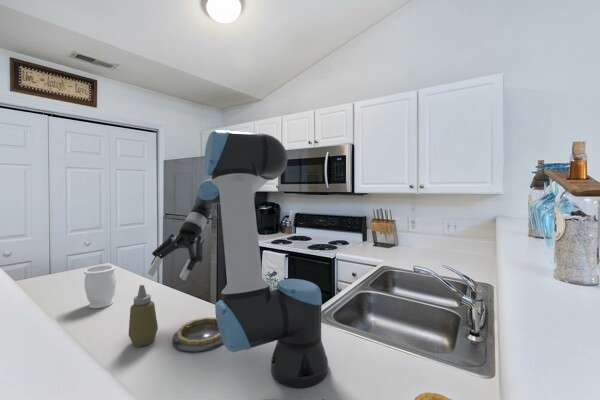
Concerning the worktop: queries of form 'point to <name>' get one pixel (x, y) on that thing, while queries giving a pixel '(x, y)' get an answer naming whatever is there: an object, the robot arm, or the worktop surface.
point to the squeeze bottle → (142, 319)
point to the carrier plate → (198, 336)
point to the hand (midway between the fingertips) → (165, 276)
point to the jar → (100, 285)
